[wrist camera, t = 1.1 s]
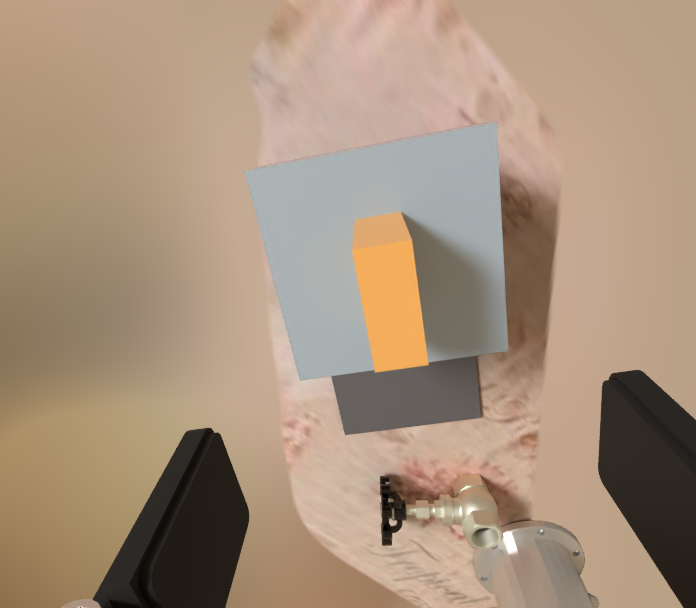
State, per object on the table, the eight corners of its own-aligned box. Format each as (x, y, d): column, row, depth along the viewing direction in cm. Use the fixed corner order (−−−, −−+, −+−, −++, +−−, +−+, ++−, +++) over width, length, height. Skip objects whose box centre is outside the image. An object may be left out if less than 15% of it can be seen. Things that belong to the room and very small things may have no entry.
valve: (491, 461, 47) (379, 462, 48) (509, 512, 41) (381, 512, 42) (486, 507, 50) (380, 507, 50) (503, 561, 43) (382, 560, 44)
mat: (479, 415, 45) (480, 417, 44) (345, 432, 46) (345, 434, 46) (469, 288, 39) (470, 290, 39) (317, 312, 41) (317, 314, 40)
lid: (498, 334, 28) (546, 412, 21) (304, 362, 30) (284, 445, 22) (485, 122, 24) (542, 123, 16) (254, 167, 25) (206, 188, 17)
